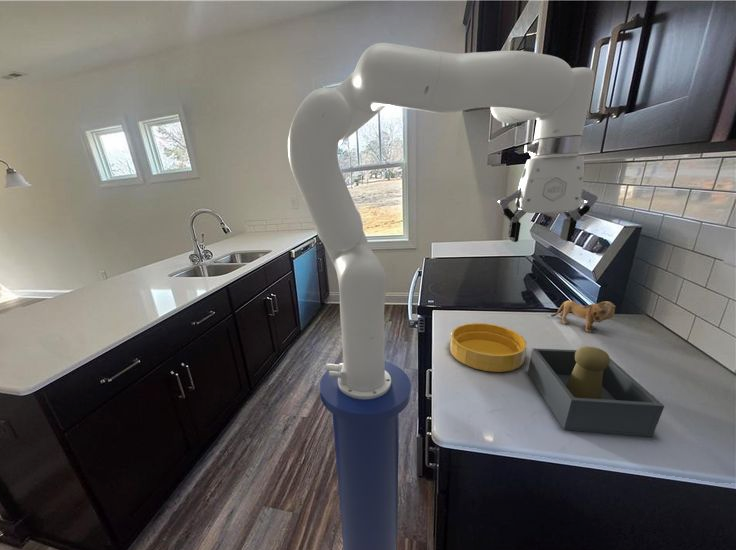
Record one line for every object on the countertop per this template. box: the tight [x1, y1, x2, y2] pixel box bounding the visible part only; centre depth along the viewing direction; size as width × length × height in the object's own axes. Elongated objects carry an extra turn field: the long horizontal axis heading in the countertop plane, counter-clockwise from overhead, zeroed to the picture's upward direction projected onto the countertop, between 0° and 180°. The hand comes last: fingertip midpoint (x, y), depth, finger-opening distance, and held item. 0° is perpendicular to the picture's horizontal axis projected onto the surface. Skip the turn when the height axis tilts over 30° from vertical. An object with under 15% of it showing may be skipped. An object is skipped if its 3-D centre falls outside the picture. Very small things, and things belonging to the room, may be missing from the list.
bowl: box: [449, 322, 528, 373], centre depth 81 cm, size 17×17×4 cm
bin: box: [527, 347, 665, 438], centre depth 62 cm, size 14×18×7 cm
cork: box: [566, 345, 611, 399], centre depth 61 cm, size 6×6×11 cm
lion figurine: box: [550, 300, 616, 333], centre depth 91 cm, size 15×5×9 cm, turn 35°
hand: (538, 240), depth 66 cm, fingers open, 9 cm apart
